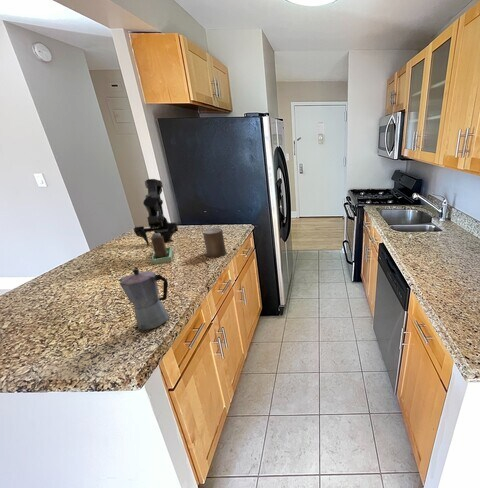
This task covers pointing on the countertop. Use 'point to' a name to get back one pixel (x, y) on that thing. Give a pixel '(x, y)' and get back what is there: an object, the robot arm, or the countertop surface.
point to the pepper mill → (159, 245)
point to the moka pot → (146, 298)
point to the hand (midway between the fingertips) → (158, 243)
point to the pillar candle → (214, 242)
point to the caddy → (162, 260)
